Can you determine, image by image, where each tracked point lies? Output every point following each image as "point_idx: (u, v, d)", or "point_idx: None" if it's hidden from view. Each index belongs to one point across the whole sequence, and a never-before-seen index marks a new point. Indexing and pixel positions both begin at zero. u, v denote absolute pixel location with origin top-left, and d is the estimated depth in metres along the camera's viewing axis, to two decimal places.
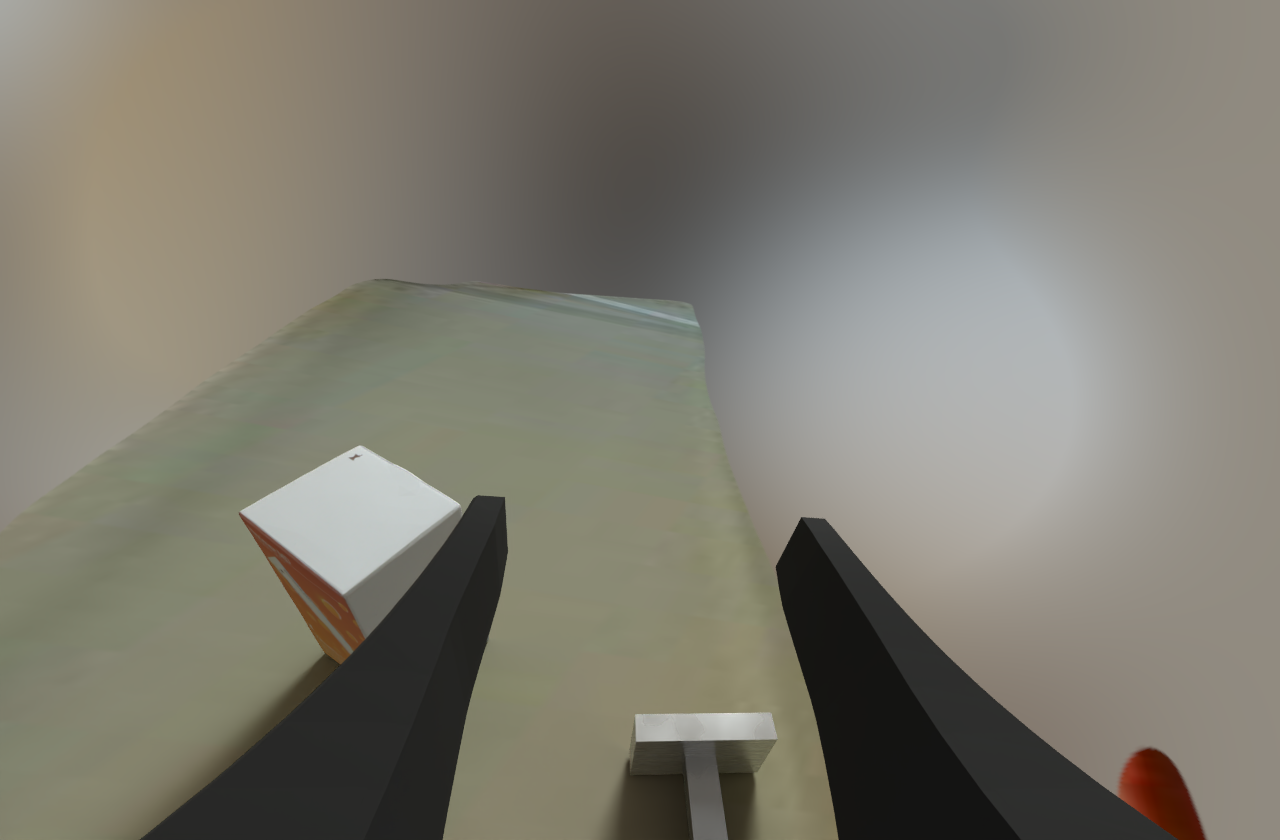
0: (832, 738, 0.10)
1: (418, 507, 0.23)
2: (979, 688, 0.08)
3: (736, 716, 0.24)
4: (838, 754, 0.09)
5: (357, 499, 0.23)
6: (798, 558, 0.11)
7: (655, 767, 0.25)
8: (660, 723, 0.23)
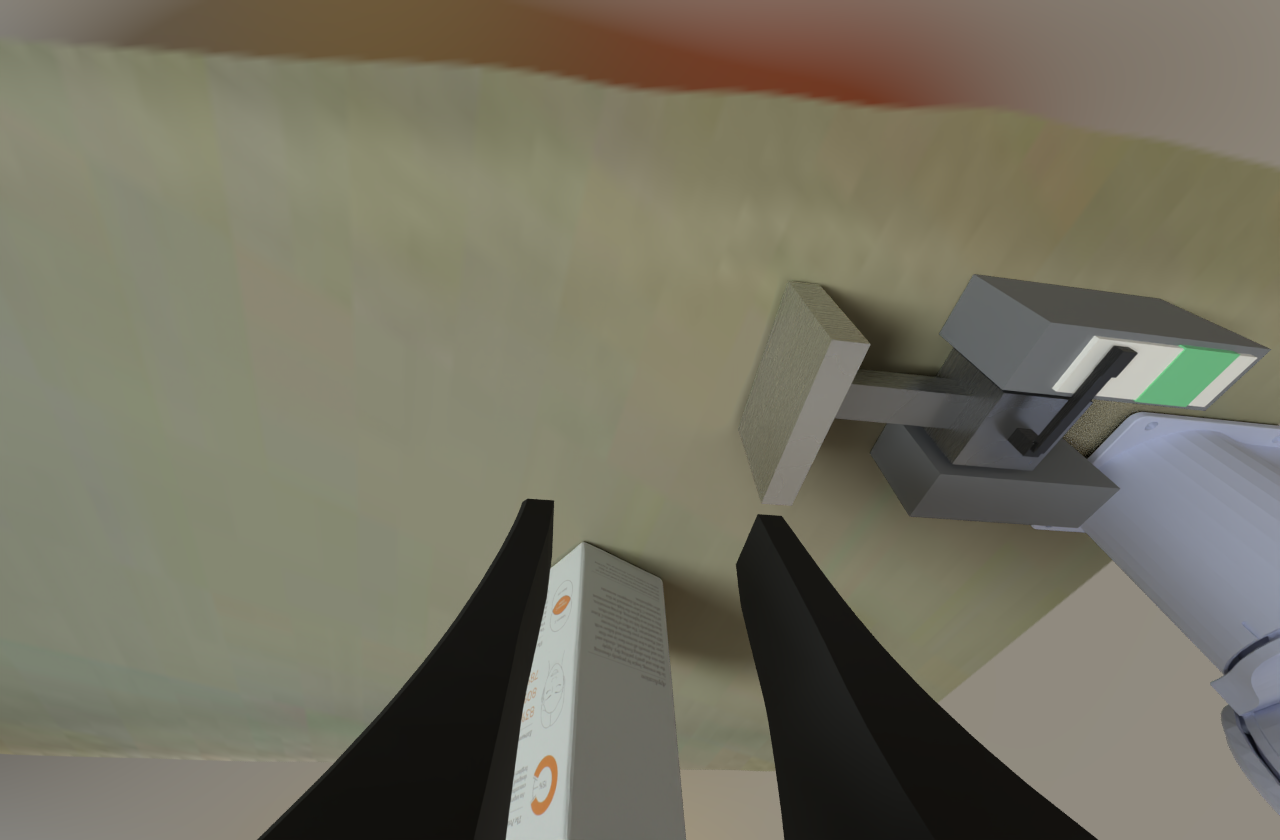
0: (781, 737, 0.09)
1: None
2: (917, 686, 0.08)
3: (814, 393, 0.15)
4: (785, 753, 0.09)
5: None
6: (754, 556, 0.11)
7: None
8: (782, 481, 0.17)
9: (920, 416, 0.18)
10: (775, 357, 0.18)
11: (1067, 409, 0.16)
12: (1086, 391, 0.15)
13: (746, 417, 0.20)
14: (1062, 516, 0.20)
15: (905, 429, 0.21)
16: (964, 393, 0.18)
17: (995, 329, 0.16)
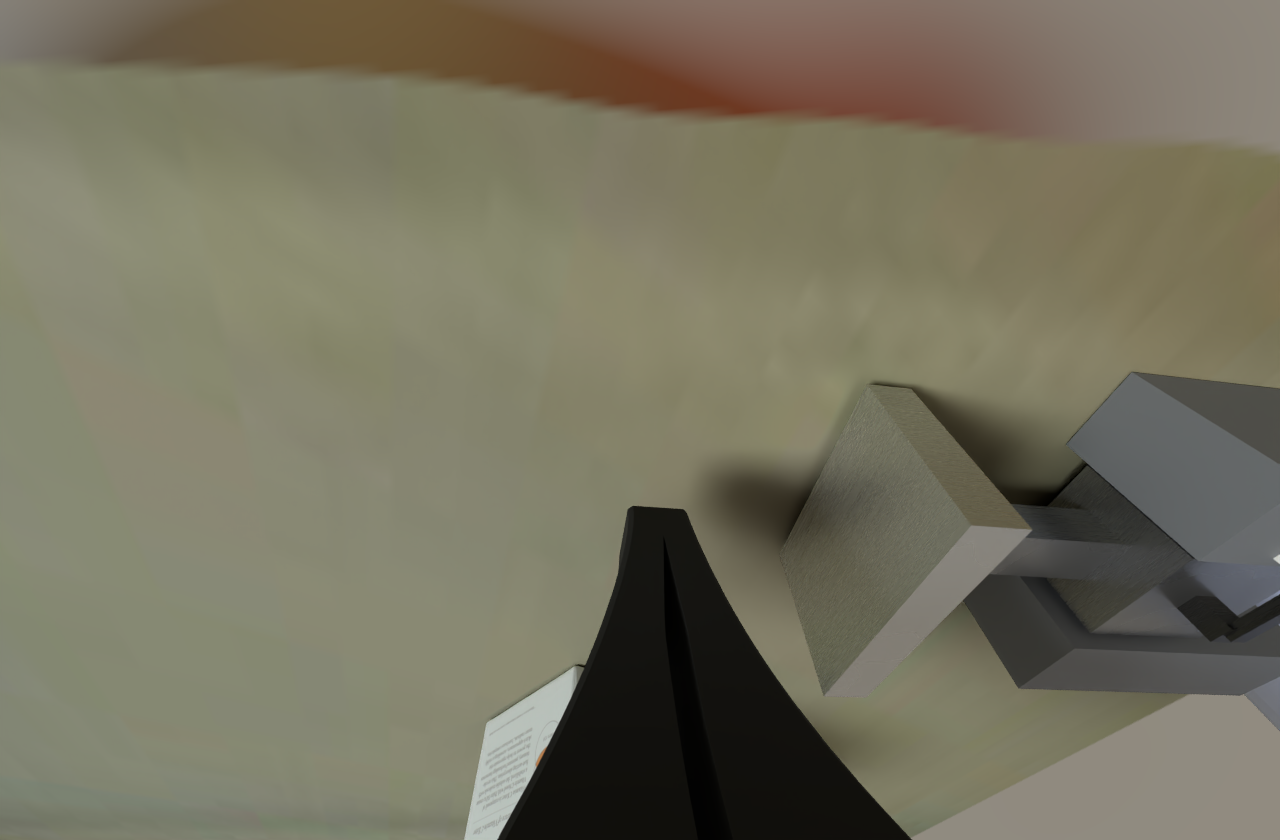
0: None
1: None
2: (774, 682, 0.07)
3: (927, 586, 0.09)
4: None
5: None
6: None
7: None
8: (858, 675, 0.12)
9: (1046, 566, 0.13)
10: (845, 488, 0.12)
11: None
12: None
13: (793, 547, 0.15)
14: (1225, 685, 0.15)
15: None
16: (1113, 539, 0.13)
17: (1180, 465, 0.11)
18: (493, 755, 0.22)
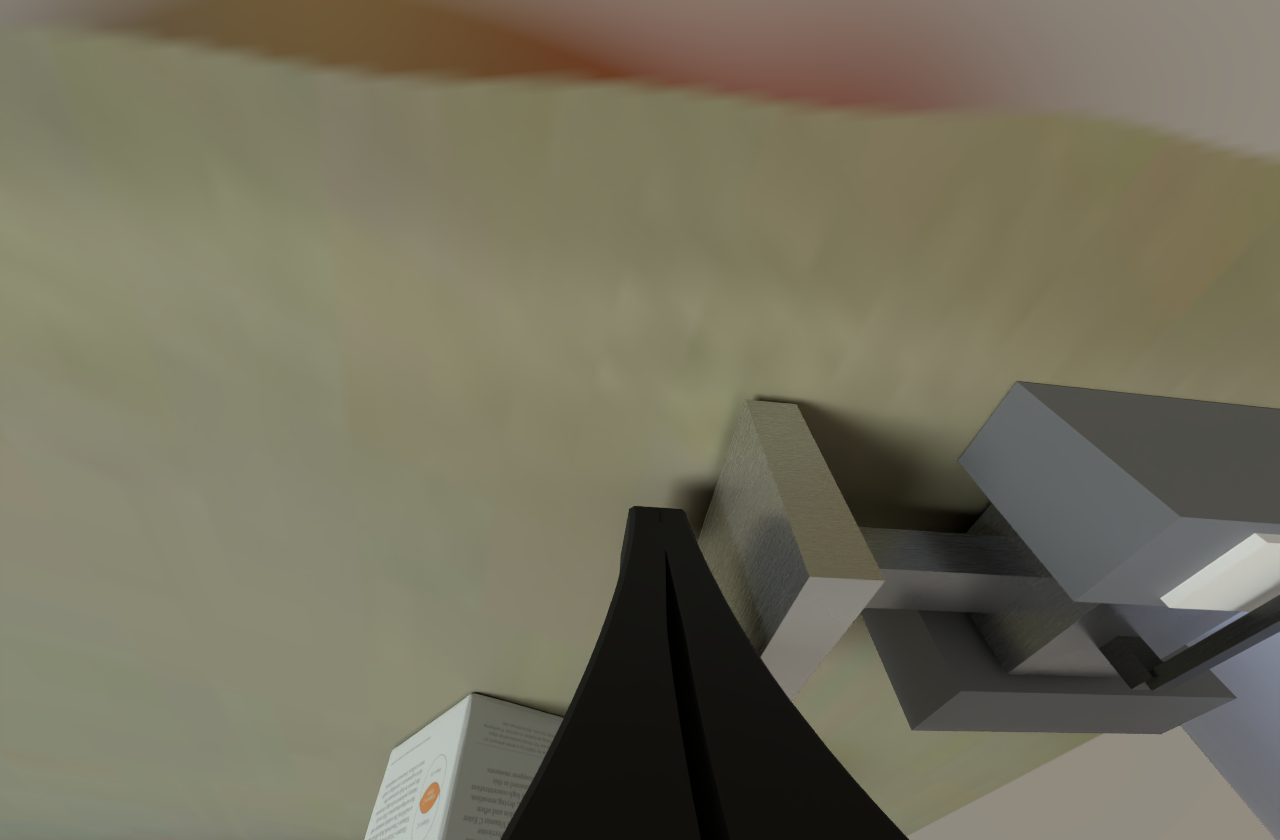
0: None
1: None
2: (772, 682, 0.07)
3: (780, 640, 0.08)
4: None
5: None
6: None
7: None
8: None
9: (957, 601, 0.12)
10: (727, 516, 0.11)
11: (1224, 642, 0.09)
12: (1266, 623, 0.09)
13: None
14: (1141, 724, 0.13)
15: None
16: (1029, 571, 0.11)
17: (1059, 489, 0.10)
18: (390, 788, 0.21)
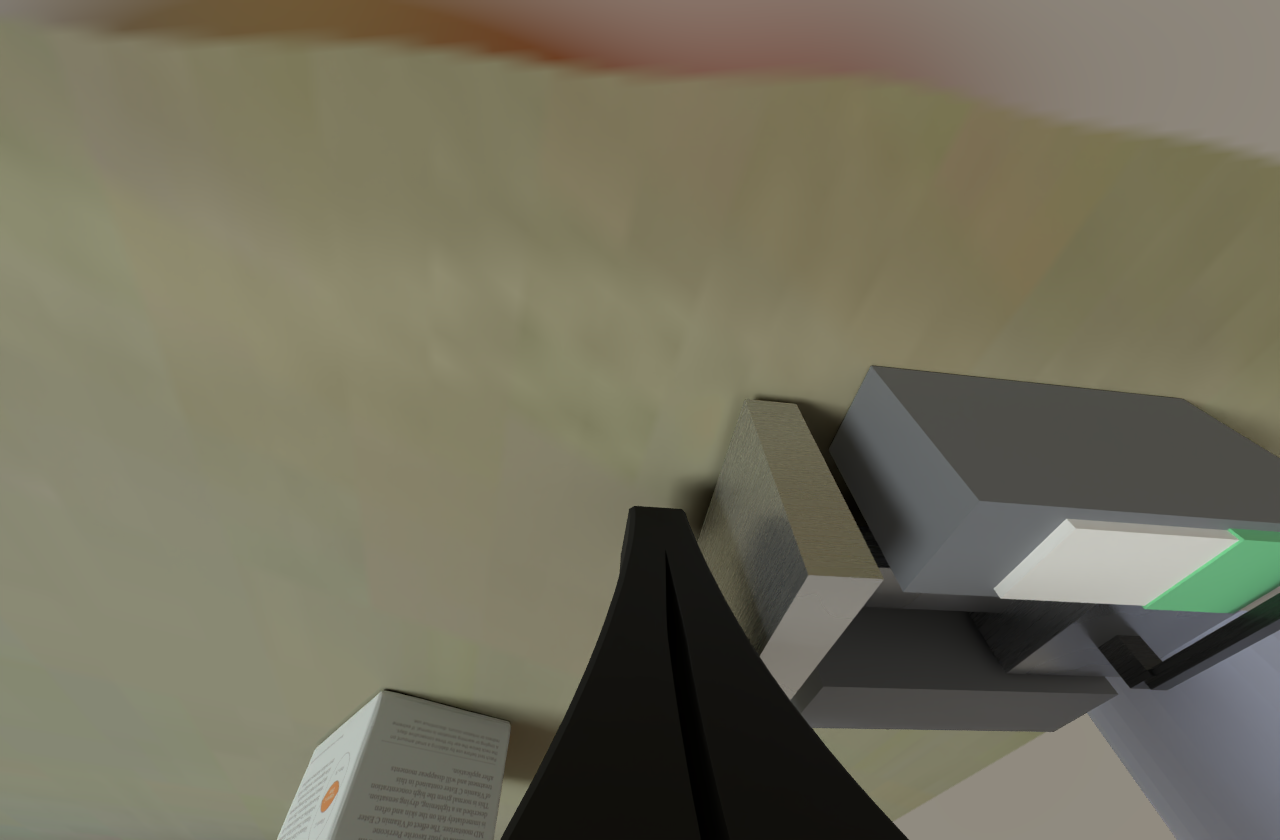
0: None
1: None
2: (771, 682, 0.07)
3: (779, 639, 0.08)
4: None
5: None
6: None
7: None
8: None
9: (957, 600, 0.12)
10: (727, 515, 0.11)
11: (1223, 641, 0.09)
12: (1265, 622, 0.09)
13: None
14: (1028, 722, 0.13)
15: None
16: None
17: (896, 476, 0.09)
18: (304, 787, 0.20)
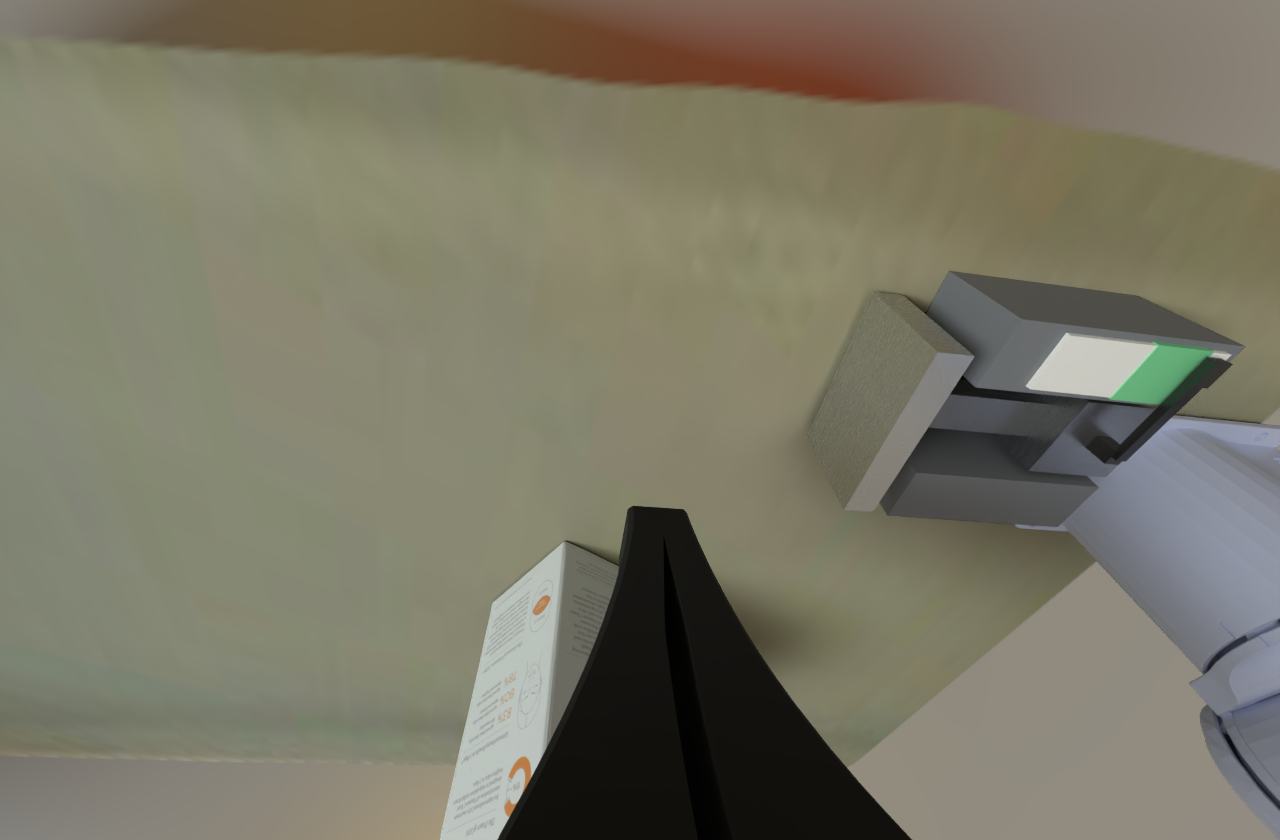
0: None
1: None
2: (774, 682, 0.07)
3: (912, 403, 0.15)
4: None
5: None
6: None
7: None
8: (868, 488, 0.17)
9: (998, 423, 0.19)
10: (858, 366, 0.18)
11: (1154, 418, 0.16)
12: (1175, 401, 0.16)
13: (819, 424, 0.21)
14: (1041, 515, 0.20)
15: None
16: (1042, 401, 0.18)
17: (969, 327, 0.16)
18: (498, 620, 0.27)
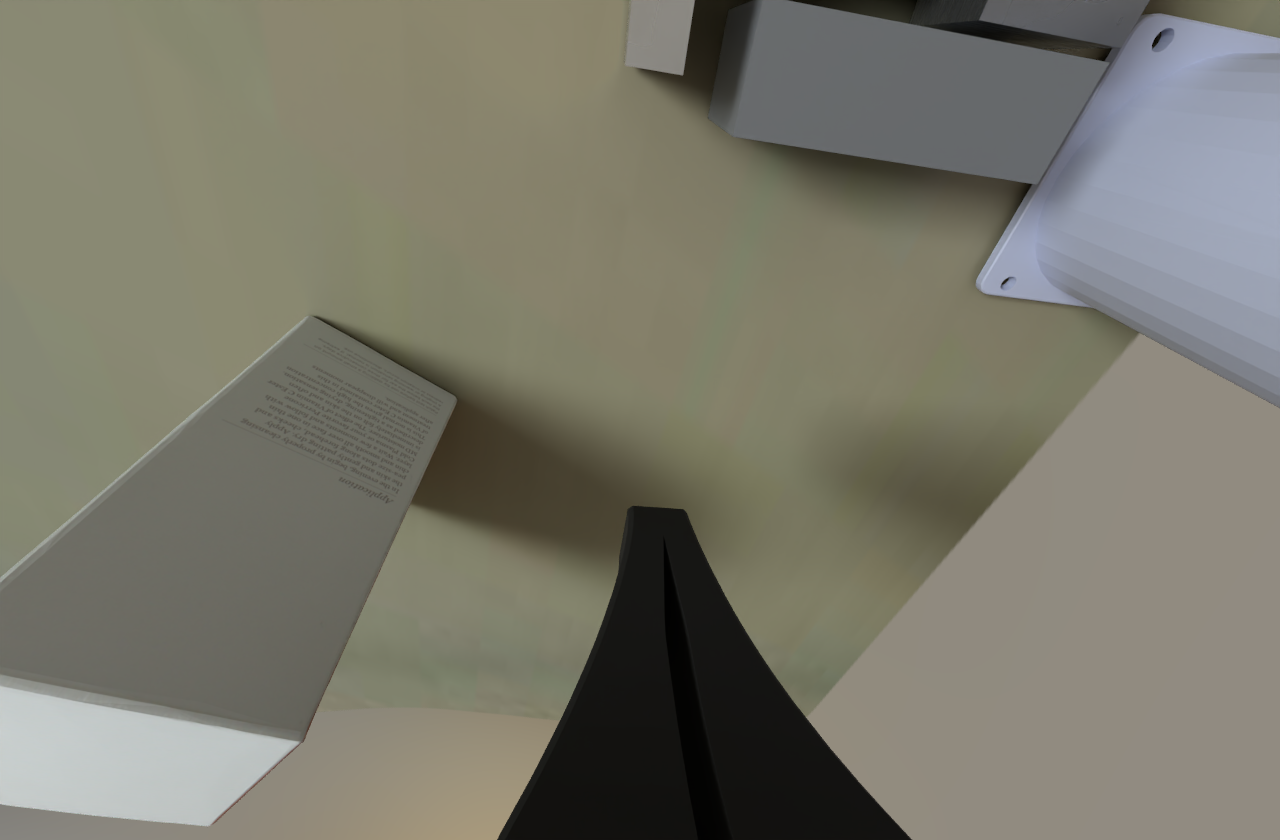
0: None
1: (1, 714, 0.09)
2: (774, 683, 0.07)
3: None
4: None
5: (71, 772, 0.10)
6: None
7: None
8: None
9: None
10: None
11: None
12: None
13: (628, 12, 0.12)
14: (1008, 148, 0.11)
15: (736, 8, 0.12)
16: None
17: None
18: None
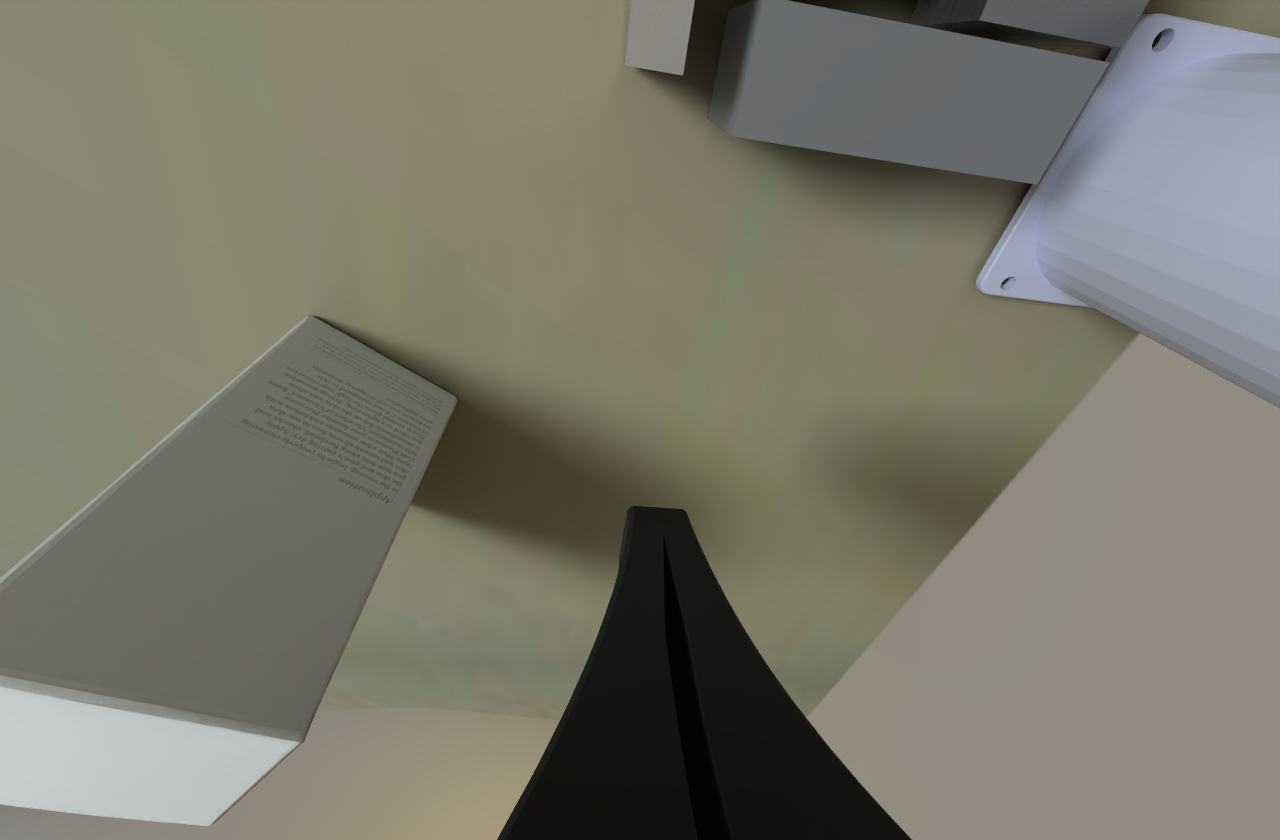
0: None
1: (1, 716, 0.09)
2: (774, 683, 0.07)
3: None
4: None
5: (72, 772, 0.10)
6: None
7: None
8: None
9: None
10: None
11: None
12: None
13: (628, 12, 0.12)
14: (1008, 148, 0.11)
15: (736, 8, 0.12)
16: None
17: None
18: None
